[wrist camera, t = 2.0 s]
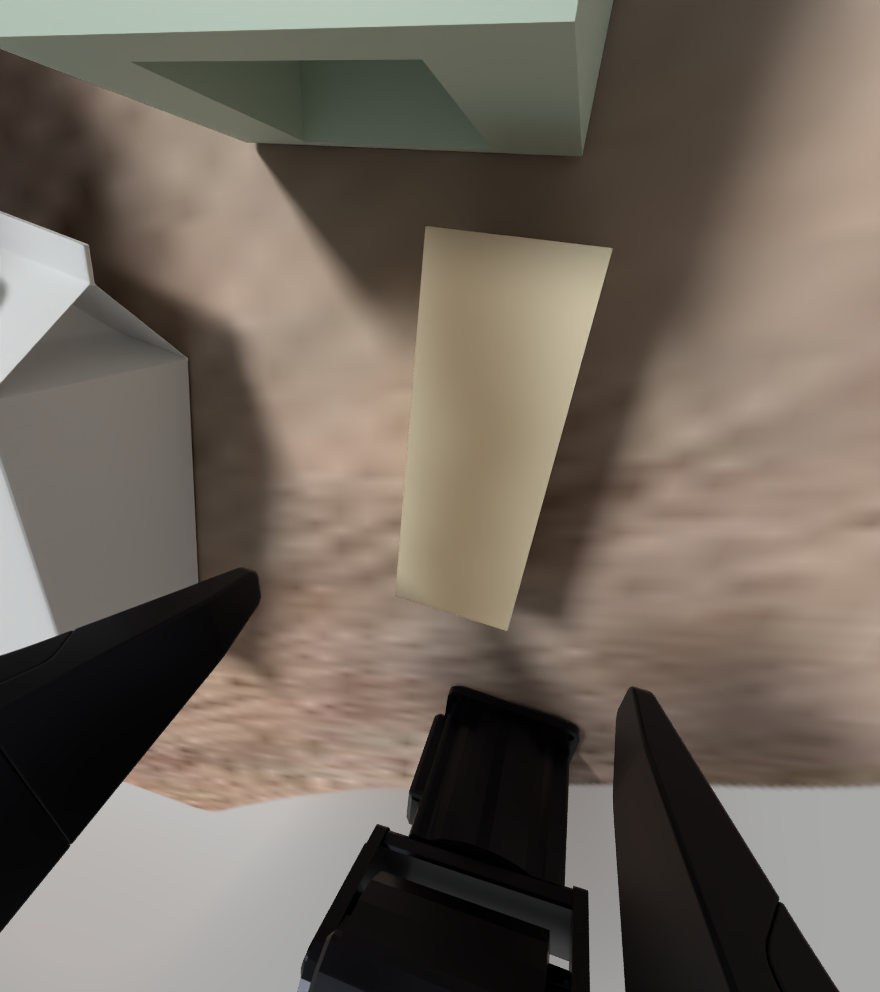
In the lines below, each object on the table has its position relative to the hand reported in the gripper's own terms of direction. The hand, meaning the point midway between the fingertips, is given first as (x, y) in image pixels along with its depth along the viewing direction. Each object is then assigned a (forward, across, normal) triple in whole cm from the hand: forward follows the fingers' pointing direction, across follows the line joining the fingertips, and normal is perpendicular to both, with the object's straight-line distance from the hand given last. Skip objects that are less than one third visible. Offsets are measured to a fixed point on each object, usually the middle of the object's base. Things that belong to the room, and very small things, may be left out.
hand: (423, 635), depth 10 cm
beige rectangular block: (+8, 0, -3) cm, 8 cm away
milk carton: (+4, +20, +11) cm, 23 cm away
